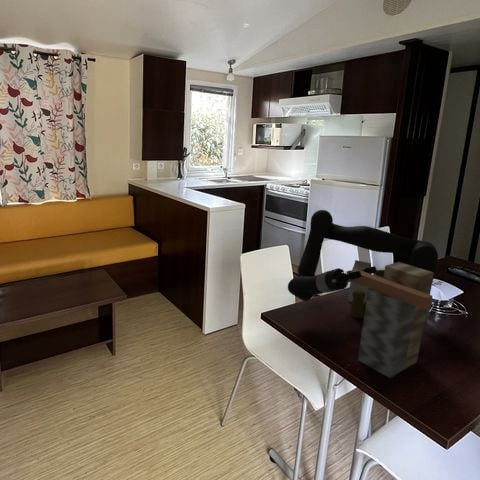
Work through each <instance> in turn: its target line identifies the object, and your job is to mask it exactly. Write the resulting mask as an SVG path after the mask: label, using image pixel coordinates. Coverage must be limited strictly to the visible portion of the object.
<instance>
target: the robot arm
mask: <svg viewBox="0 0 480 480" xmlns="http://www.w3.org/2000/svg"><path fill="white" fill-rule="evenodd" d="M333 221H334V220H333V215H332V214H331V212H329V211H328V210H325V209H319V210H316V211H314V213H313V214H312V215H311V217H310V229H309V233H308V238H307V240H306V245H305V248H304V251H303V252H302V256H301V257H300V258H301V259H300V261H299V265H298V267H297V273H298V275H299V276H295V277H293V278H292V279H291V280H290V281H289V282H288V284H287V290H288V292H289V294H291V295H293V296H294V297H296V298H298V299H299V300H301V301H303V302H308V301H309V300H311V299H312V298H313V296H314V295H321V294H322V295H323V294H325V293H332V292H337V291H341V290H345V289H346V288H347V286H348V284H349V283H350V282H351V280H352V279H356V278H360V277H361V272H360V271H356V272H352V273H351V271H353V270H352V269H350V270H346V271H345V270H344V269H342V268H338V267H337V268H335V269H331V270H328V271H324V272H321V273H320V274H316V272H317V269H318V268H317V267H318V265H319V262H320V258H321V257H320V256H321V253H322V247H323V243H324V239H325V240H326V239H327V240H332V241H336V242H341V243H345V244H349V245H352V246H355V247H359V248H362V249H364V250H368V251H373V252H375V253H385V254H389V253H390V254H396V255H397V254H398V255H400V256H403V257H406V258H410V259H411V260H410V264H409V265H411V266H414V267H417V268H420V269H424V270H427V271H430V272H434V274H433V280H434V278H435V275H436V270H437V268H438V267H437V266H438V259H439V254H438V251H437V249H436V247H435V245H433V243H431V242H430V241H429V242H428V241H426V240H420V239H413V238H408V237H403V236H399V235H397V234H394V233H392V232H388V231H386V230H381V229H379V228H374V227H371V226H365V225H358V226H357V225H356V226H355V225H354V226H344V225H339V224H336V223H333ZM356 270H357V269H356ZM358 270H360V269H358ZM377 270H378V269H377V268H376V266H371V267H370V268H364V269H361V271H363V272H366V273H369V274H372V275H374V274H373V273H376V272H377ZM433 280H432V283H433ZM432 286H433V284H432V285H431V288H432ZM431 291H432V289H431V290H430V293H431ZM430 309H431V307H429V308H427V311H426V316H425V322H424V325H425V324H427V323H428V320H429V314H430Z"/></svg>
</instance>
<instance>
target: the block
mask: <svg viewBox="0 0 480 480" xmlns="http://www.w3.org/2000/svg"><path fill="white" fill-rule="evenodd" d="M356 271H360V272H361V277H360V278H356V279H352V280H351V282H354V283H357V284H359V285H362V286H364V287H367V288H369V290H375V291H377V292H380V293H383V294H385V295H388V296H390V297H393V298H396V299H398V300H401V301H403V302H406V303H409V304H411V305H414V306H417V307H419V308H422V309H427V308H429V307H430V308H431V306H432V300H433V295H432V294H430V295H429V294H426V293H424V292H421V291H418V290H415V289H412V288H409V287H406V286H404V285H401V284H398V283H395V282H392V281H389V280H386V279H383V278H381V277H378V276H375V275H374V274H369V273H366V272H363V271H361V270H358V269H357V270H353V271H352V270H351V272H350V273H352V272H356Z"/></svg>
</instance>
